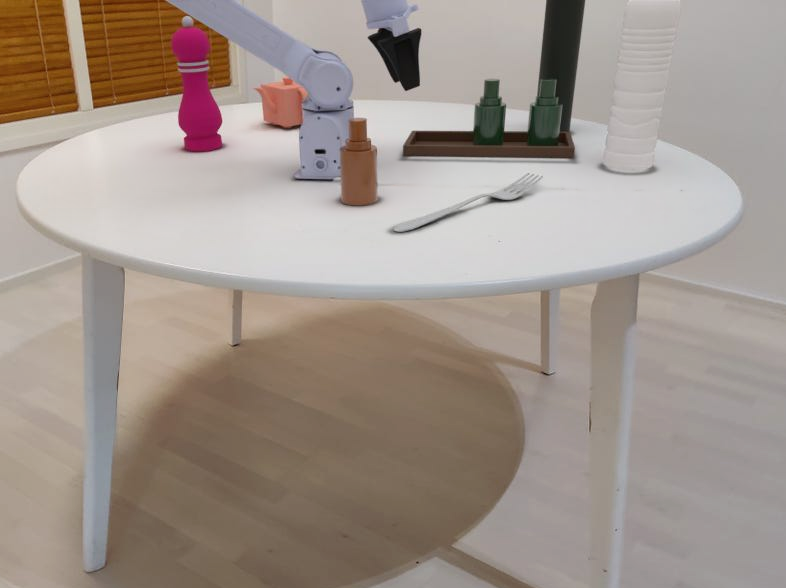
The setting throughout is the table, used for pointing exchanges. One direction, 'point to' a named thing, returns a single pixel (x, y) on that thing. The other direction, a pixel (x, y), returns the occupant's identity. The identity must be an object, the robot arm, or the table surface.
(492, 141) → the green bottle
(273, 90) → the teapot
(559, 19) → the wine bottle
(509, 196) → the fork
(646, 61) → the water bottle
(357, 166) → the amber bottle
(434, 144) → the tray
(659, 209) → the table surface
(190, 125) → the pepper mill
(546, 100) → the green bottle
